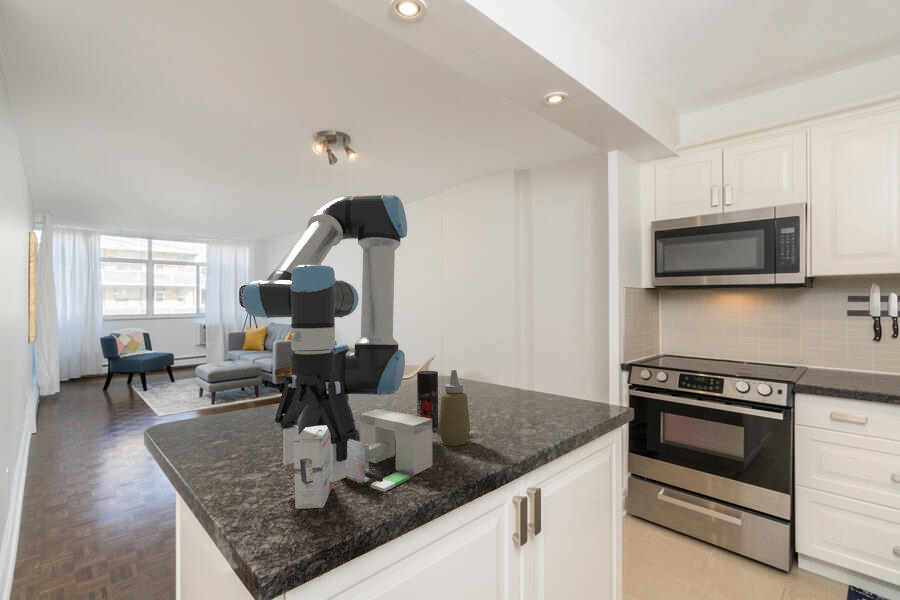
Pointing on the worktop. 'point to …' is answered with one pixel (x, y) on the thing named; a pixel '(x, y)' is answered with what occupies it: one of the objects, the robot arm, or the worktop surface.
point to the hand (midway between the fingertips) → (313, 470)
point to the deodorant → (427, 395)
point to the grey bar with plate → (363, 459)
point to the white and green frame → (398, 443)
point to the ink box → (312, 467)
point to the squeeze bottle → (454, 413)
